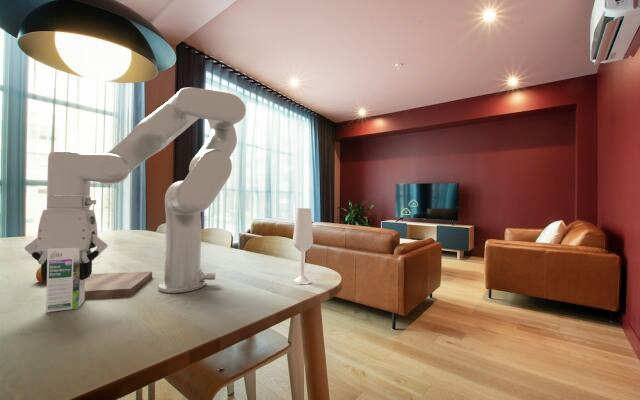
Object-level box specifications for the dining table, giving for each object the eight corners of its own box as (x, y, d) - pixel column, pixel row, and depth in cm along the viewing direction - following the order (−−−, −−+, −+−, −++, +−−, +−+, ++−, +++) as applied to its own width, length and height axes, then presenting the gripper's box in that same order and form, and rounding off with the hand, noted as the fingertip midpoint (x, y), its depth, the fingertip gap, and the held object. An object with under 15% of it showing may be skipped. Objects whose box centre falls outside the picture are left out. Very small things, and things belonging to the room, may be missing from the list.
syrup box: (44, 313, 61) (46, 248, 61) (55, 304, 66) (56, 244, 66) (77, 309, 64) (79, 246, 64) (85, 300, 69) (86, 243, 69)
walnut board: (152, 277, 90) (152, 271, 90) (130, 296, 73) (130, 288, 73) (90, 280, 86) (91, 273, 86) (51, 300, 68) (52, 292, 68)
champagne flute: (287, 282, 88) (289, 208, 88) (299, 277, 94) (301, 208, 94) (304, 286, 85) (306, 208, 85) (316, 281, 90) (317, 208, 91)
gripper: (118, 204, 71) (116, 273, 71) (35, 202, 66) (33, 276, 66) (104, 204, 64) (101, 281, 64) (9, 203, 59) (7, 286, 59)
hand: (66, 278), depth 65 cm, fingers closed on syrup box, 6 cm apart
